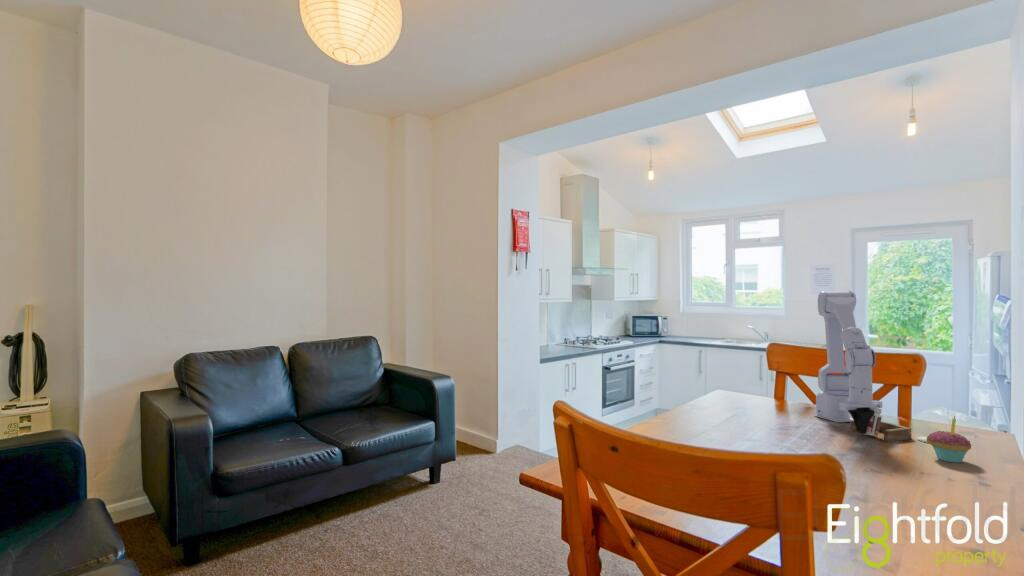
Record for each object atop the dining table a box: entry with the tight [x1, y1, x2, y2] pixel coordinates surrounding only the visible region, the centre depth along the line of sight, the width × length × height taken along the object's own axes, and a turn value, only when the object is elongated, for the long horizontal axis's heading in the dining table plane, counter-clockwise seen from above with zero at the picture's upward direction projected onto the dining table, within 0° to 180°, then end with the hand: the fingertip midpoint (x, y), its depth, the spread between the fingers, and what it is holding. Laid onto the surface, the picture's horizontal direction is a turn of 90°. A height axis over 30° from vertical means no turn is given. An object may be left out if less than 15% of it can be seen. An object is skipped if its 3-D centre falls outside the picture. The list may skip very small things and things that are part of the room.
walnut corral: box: [850, 420, 912, 443], centre depth 144 cm, size 11×9×3 cm
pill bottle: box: [865, 407, 883, 437], centre depth 143 cm, size 5×5×8 cm
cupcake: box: [926, 415, 972, 464], centre depth 123 cm, size 9×8×12 cm
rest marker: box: [916, 436, 929, 444], centre depth 138 cm, size 6×6×1 cm
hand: (861, 433), depth 142 cm, fingers closed, pressing on pill bottle
